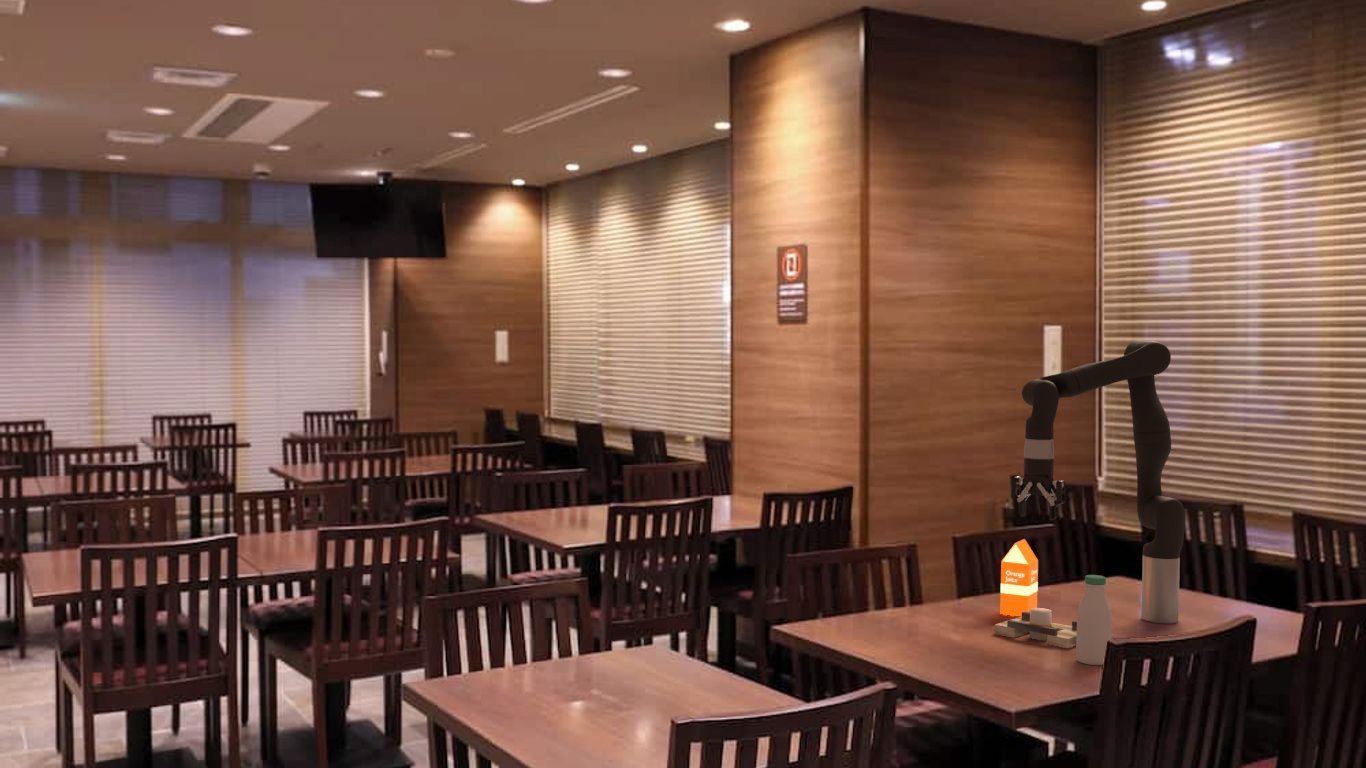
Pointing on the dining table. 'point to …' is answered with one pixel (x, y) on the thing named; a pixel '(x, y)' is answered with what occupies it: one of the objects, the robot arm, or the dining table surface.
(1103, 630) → the milk bottle
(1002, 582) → the orange juice
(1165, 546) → the robot arm
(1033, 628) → the shelf board
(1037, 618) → the orange-banded white cylinder
